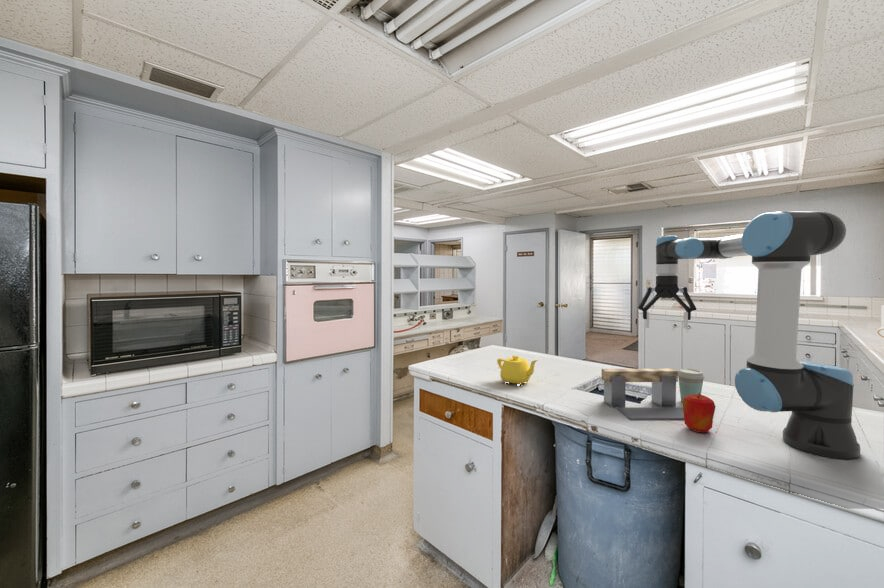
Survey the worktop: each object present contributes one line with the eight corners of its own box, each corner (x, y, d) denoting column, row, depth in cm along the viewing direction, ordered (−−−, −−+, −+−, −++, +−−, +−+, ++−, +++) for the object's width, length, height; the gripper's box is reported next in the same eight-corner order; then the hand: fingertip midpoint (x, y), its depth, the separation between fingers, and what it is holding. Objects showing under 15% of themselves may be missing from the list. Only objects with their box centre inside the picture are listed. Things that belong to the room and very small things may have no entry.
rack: (675, 407, 134) (676, 376, 134) (611, 407, 135) (611, 376, 135) (664, 401, 141) (665, 371, 141) (603, 401, 142) (603, 371, 142)
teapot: (532, 390, 157) (532, 361, 156) (490, 383, 169) (490, 356, 168) (544, 383, 167) (544, 355, 167) (504, 376, 179) (504, 351, 179)
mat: (703, 419, 123) (703, 418, 123) (630, 419, 124) (630, 418, 124) (685, 409, 133) (685, 407, 133) (617, 409, 134) (617, 407, 134)
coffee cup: (708, 407, 135) (709, 374, 134) (682, 405, 136) (683, 373, 136) (697, 399, 143) (697, 368, 142) (673, 398, 145) (673, 367, 144)
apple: (685, 422, 121) (686, 386, 121) (717, 429, 115) (718, 392, 115) (678, 429, 115) (679, 392, 115) (711, 438, 109) (712, 398, 109)
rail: (671, 378, 139) (671, 368, 139) (677, 381, 135) (678, 371, 135) (601, 379, 140) (601, 368, 140) (605, 382, 136) (605, 371, 136)
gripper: (699, 274, 148) (698, 327, 149) (630, 275, 156) (630, 325, 157) (706, 274, 141) (705, 329, 142) (634, 275, 148) (633, 328, 149)
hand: (666, 327), depth 149 cm, fingers open, 13 cm apart
